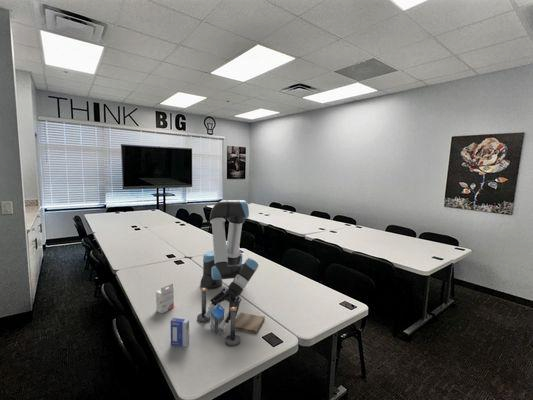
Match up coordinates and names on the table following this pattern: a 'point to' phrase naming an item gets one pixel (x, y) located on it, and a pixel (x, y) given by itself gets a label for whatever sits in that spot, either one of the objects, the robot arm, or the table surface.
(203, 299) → the cord stand far
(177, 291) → the table surface
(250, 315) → the walnut board
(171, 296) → the ink cartridge box
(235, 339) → the cord stand near
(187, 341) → the walkman
